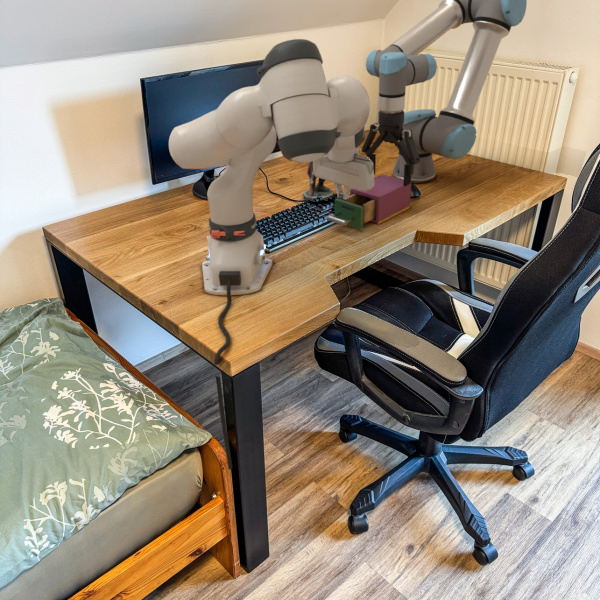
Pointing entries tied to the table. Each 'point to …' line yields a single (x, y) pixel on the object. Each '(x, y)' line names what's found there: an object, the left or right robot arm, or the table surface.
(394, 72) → the right robot arm
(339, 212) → the drawer
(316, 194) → the figurine
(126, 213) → the table surface
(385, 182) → the cabinet
